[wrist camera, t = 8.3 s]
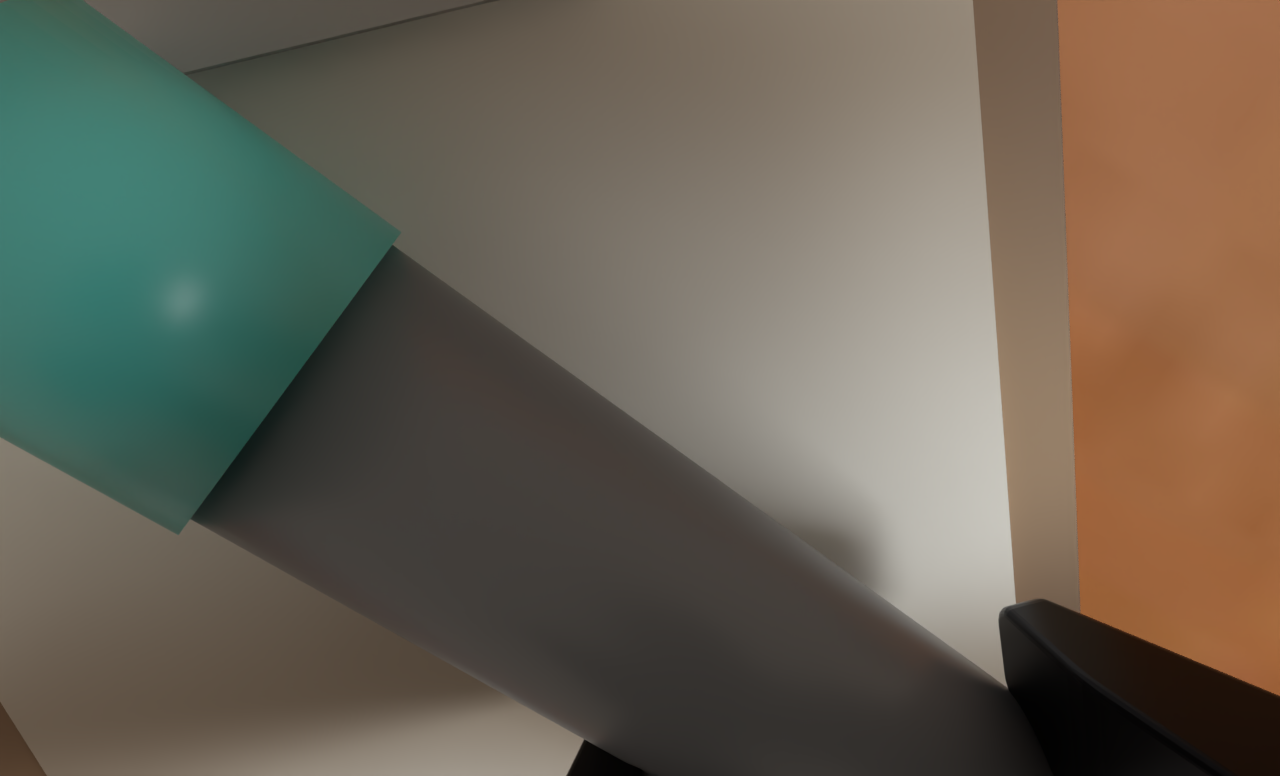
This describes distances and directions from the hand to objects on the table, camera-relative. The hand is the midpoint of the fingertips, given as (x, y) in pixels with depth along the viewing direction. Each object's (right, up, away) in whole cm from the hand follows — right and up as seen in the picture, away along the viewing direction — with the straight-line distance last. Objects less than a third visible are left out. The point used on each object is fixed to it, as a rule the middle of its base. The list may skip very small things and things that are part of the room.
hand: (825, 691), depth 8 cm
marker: (0, 0, +1) cm, 1 cm away
